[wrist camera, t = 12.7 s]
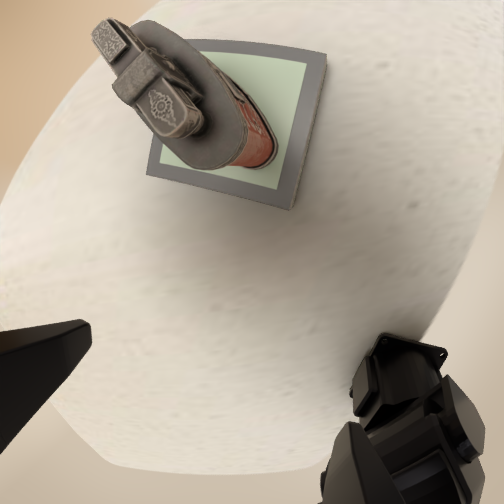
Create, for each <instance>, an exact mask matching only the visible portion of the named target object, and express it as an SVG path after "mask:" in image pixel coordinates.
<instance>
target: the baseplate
mask: <svg viewBox="0 0 504 504" xmlns="http://www.w3.org/2000/svg"><path fill="white" fill-rule="evenodd" d="M184 40H185V41H187V42H188V43H189V44H190V45H191V46H192V47H194V48H195V49H196V50H198V51H199V52H201V53H202V54H203V55H204V56H206V57H207V58H208V59H209V60H210V61H211V62H213V63H214V64H215V65H216V66H217V67H218V68H219V69H220V70H221V71H223V72H224V73H226V74H227V75H228V76H230V77H231V78H232V79H233V80H234V81H235V82H236V83H237V84H239V85H240V86H241V87H242V88H243V89H244V90H245V91H246V92H247V93H248V94H249V95H250V96H251V98H252V99H253V100H254V102H255V103H256V104H257V106H258V107H259V109H260V110H261V111H262V113H263V114H264V116H265V117H266V119H267V121H268V123H269V125H270V127H271V128H272V130H273V132H274V134H275V136H276V138H277V141H278V144H279V148H278V154H277V156H276V158H275V160H274V161H273V162H272V163H271V164H270V165H268V166H266V167H264V168H263V169H257V170H249V169H244V168H242V167H240V166H226V167H224V168H220V169H216V170H197V169H193V168H191V167H190V166H188V165H186V164H185V163H184V162H183V161H182V160H180V159H179V158H178V157H177V156H176V155H175V154H174V153H173V152H172V151H171V150H170V149H169V148H167V147H166V146H165V145H164V144H163V143H162V142H161V141H160V140H159V139H158V138H157V137H156V136H155V134H153V139H152V144H151V149H150V154H149V160H148V165H147V171H146V175H149V176H154V177H158V178H163V179H167V180H172V181H176V182H180V183H185V184H189V185H193V186H197V187H202V188H206V189H210V190H214V191H218V192H222V193H226V194H230V195H234V196H238V197H241V198H245V199H249V200H253V201H257V202H260V203H264V204H268V205H271V206H275V207H279V208H282V209H286V210H290V209H291V208H292V207H293V204H294V201H295V197H296V193H297V189H298V185H299V181H300V177H301V173H302V169H303V165H304V161H305V157H306V153H307V149H308V145H309V141H310V137H311V132H312V128H313V124H314V120H315V116H316V111H317V107H318V103H319V98H320V94H321V90H322V85H323V81H324V76H325V72H326V67H327V54H325V53H320V52H315V51H310V50H305V49H299V48H293V47H287V46H280V45H273V44H265V43H256V42H245V41H232V40H210V39H184Z"/></svg>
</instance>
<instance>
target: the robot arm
mask: <svg viewBox="0 0 504 504" xmlns="http://www.w3.org/2000/svg"><path fill="white" fill-rule="evenodd" d="M383 339H387V340H386V341H385V342H382V340H383ZM91 345H92V334H91V326H90V324H89V323H88V322H86V321H84V320H82V319H77V320H71V321H66V322H60V323H54V324H48V325H41V326H35V327H29V328H22V329H16V330H9V331H2V332H0V454H1V453H2V452H3V451H4V449H5V448H6V447H7V446H8V445H9V443H10V442H11V441H12V440H13V438H14V437H15V436H16V435H17V434H18V433H19V432H20V430H21V429H22V428H23V427H24V426H25V425H26V423H27V422H28V421H29V420H30V419H31V418H32V417H33V415H34V414H35V413H36V412H37V411H38V410H39V409H40V408H41V406H42V405H43V404H44V403H45V402H46V401H47V400H48V399H49V397H50V396H51V395H52V394H53V393H54V392H55V391H56V390H57V389H58V388H59V386H60V385H61V384H62V383H63V382H64V381H65V380H66V379H67V378H68V376H69V375H70V374H71V373H72V371H73V370H74V369H75V367H76V366H77V365H78V363H79V362H80V361H81V359H82V358H83V357H84V355H85V354H86V353H87V351H88V350H89V349H90V347H91ZM442 353H444V354H443V355H442V356H440V355H441V354H442ZM447 356H448V352H447V350H446V349H445V348H442V347H437V346H433V345H429V344H425V343H421V342H417V341H414V340H410V339H406V338H402V337H398V336H394V335H391V334H387V333H383V334H381V335H379V337H378V338H377V340H376V342H375V344H374V346H373V348H372V350H371V352H370V354H369V355H368V356H366V357H365V358H364V359H363V361H362V363H361V365H360V367H359V369H358V371H357V373H356V374H355V376H354V378H353V380H352V383H353V385H352V387H351V389H350V391H349V395H350V397H351V398H353V413H354V415H355V416H357V417H359V423H360V424H359V423H356V422H351V421H349V422H347V423H346V424H345V425H344V427H343V428H342V429H341V431H340V432H339V434H338V435H337V437H336V439H335V442H334V446H333V450H332V455H331V458H330V460H329V462H328V465H327V468H326V471H324V472H322V473H321V479H320V488H321V495H322V498H323V501H322V502H321V503H318V504H479V502H480V498H481V494H482V490H483V486H484V481H485V475H484V472H483V469H482V466H481V464H480V461H479V459H478V457H479V456H480V455H482V454H483V449H484V438H485V426H484V424H483V422H482V420H481V418H480V416H479V413H478V411H477V409H476V407H475V406H474V404H473V403H472V402H471V400H470V399H469V398H468V397H467V396H466V395H465V393H464V392H463V391H462V390H461V389H460V388H459V387H458V385H457V384H456V383H455V382H454V381H453V380H452V379H451V377H450V376H449V375H446V376H445V377H444V378H442V375H441V373H440V371H439V370H440V368H441V366H442V365H443V363H444V361H445V360H446V358H447Z"/></svg>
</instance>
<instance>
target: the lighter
mask: <svg viewBox="0 0 504 504" xmlns="http://www.w3.org/2000/svg"><path fill="white" fill-rule="evenodd" d="M91 36H92V42H93V44H94V45H95V46H96V48H97V49H98V51H99V52H100V54H101V55H102V56H103V58H104V59H105V61H106V62H107V63H108V65H109V66H110V68H111V69H112V71H113V72H114V73H115V75H116V76H117V79H116V80H115V82H114V83H113V84H112V88H113V90H114V91H115V93H116V94H117V96H118V97H119V98H120V99H121V100H122V101H123V102H125V103H126V104H127V105H129V106H131V107H132V108H133V109H135V111H136V112H137V114H138V115H139V116H140V118H141V119H142V120H143V121H144V122H145V124H146V125H147V126H148V127H149V128H150V130H151V131H152V132H153V133H154V134H155V136H156V137H157V138H158V139H159V140H160V141H161V142H162V143H163V144H164V145H165V146H166V147H167V148H169V149H170V150H171V151H172V152H173V153H174V154H175V155H176V156H177V157H178V158H179V159H180V160H182V161H183V162H184V163H185V164H186V165H188V166H190V167H191V168H193V169H197V170H216V169H220V168H224V167H226V166H240V167H242V168H244V169H249V170H257V169H263V168H264V167H266V166H268V165H270V164H271V163H272V162H273V161H274V160H275V158H276V156H277V154H278V148H279V144H278V141H277V138H276V136H275V134H274V132H273V130H272V128H271V127H270V125H269V123H268V121H267V119H266V117H265V116H264V114H263V113H262V111H261V110H260V109H259V107H258V106H257V104H256V103H255V102H254V100H253V99H252V98H251V96H250V95H249V94H248V93H247V92H246V91H245V90H244V89H243V88H242V87H241V86H240V85H239V84H237V83H236V82H235V81H234V80H233V79H232V78H231V77H230V76H228V75H227V74H226V73H224V72H223V71H221V70H220V69H219V68H218V67H217V66H216V65H215V64H214V63H213V62H211V61H210V60H209V59H208V58H207V57H206V56H204V55H203V54H202V53H201V52H199V51H198V50H196V49H195V48H194V47H192V46H191V45H190V44H189V43H188V42H187V41H185V40H184V39H183V38H182V37H180V36H179V35H177V34H176V33H174V32H173V31H171V30H169V29H167V28H166V27H164V26H162V25H160V24H158V23H157V22H155V21H151V20H145V21H140V22H138V23H136V24H134V25H133V26H131V27H130V28H129V27H128V26H126V25H125V24H123V23H121V22H119V21H117V20H115V19H113V18H107V19H105V20H102V21H101V22H100V23H99V24H98V25H97V26H96V27H95V28H94V29H93V31H92V33H91Z"/></svg>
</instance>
